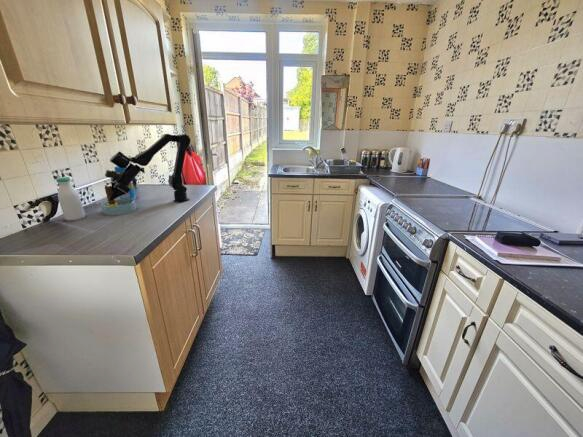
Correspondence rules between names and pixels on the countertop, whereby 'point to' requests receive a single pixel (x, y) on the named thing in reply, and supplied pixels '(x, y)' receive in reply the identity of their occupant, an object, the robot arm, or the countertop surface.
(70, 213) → the milk bottle
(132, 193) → the beverage bottle
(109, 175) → the robot arm
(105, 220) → the countertop surface
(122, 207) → the bowl
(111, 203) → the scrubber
